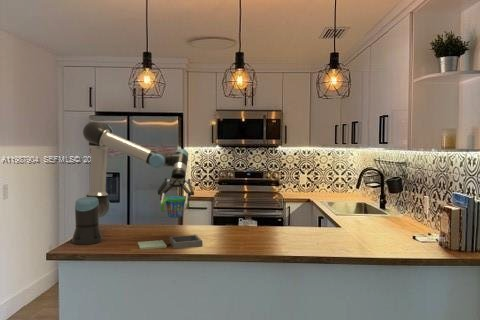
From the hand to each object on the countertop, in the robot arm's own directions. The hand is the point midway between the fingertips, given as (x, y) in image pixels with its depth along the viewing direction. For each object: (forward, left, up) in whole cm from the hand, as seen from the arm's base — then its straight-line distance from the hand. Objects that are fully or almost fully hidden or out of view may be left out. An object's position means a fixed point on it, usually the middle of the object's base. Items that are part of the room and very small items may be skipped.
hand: (174, 204), depth 210 cm
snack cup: (+1, +2, -7) cm, 7 cm away
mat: (-11, +5, -21) cm, 24 cm away
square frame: (+6, +2, -21) cm, 22 cm away
